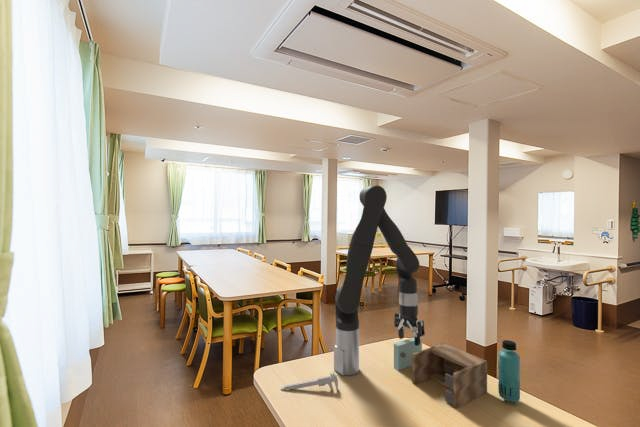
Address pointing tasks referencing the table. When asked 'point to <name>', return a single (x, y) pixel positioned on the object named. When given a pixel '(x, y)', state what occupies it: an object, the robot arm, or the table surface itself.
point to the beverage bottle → (509, 372)
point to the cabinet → (451, 372)
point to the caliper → (315, 383)
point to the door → (405, 353)
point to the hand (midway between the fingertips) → (409, 341)
